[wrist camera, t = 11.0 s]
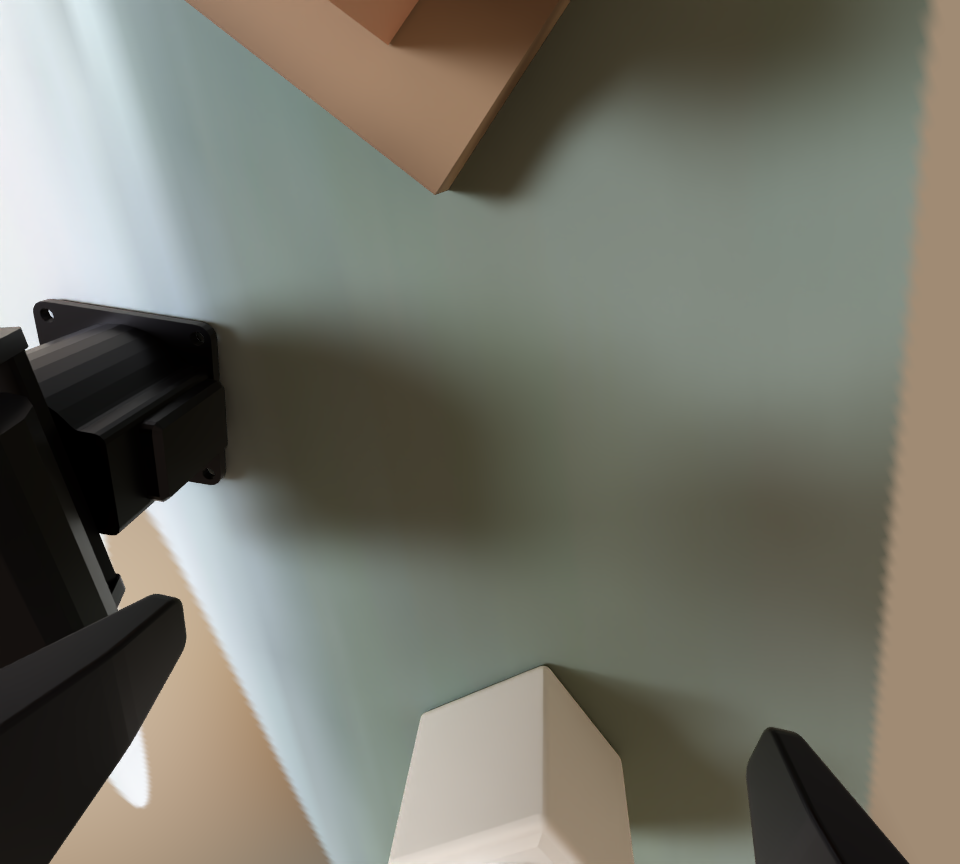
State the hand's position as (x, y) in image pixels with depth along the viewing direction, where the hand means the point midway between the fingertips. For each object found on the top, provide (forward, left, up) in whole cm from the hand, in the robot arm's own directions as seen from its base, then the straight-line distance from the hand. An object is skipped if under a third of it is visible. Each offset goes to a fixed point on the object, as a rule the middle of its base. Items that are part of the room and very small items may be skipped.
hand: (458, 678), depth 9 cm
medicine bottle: (+3, -18, -14) cm, 23 cm away
